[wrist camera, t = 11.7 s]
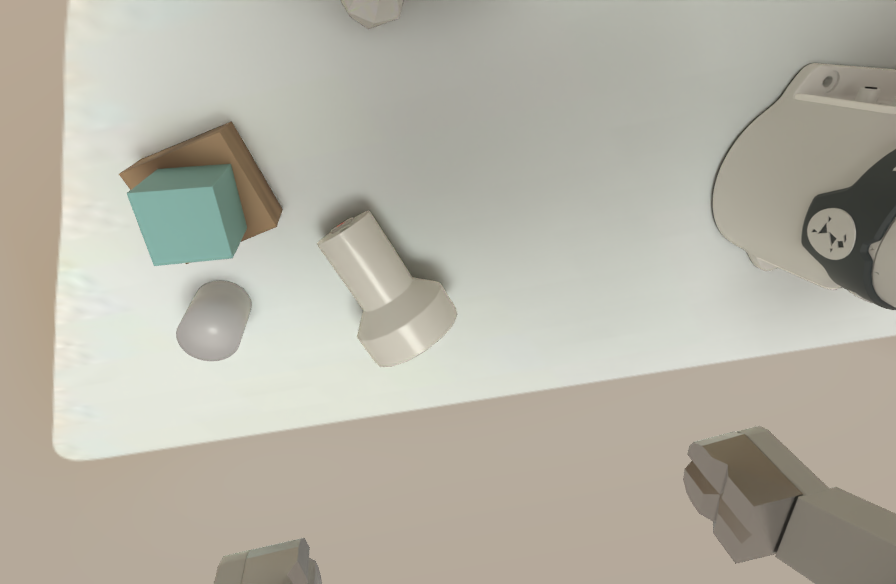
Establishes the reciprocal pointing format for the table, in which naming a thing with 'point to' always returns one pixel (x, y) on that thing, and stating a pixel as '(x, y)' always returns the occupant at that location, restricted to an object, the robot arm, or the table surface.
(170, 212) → the teal cube
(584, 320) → the table surface
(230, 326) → the grey cylinder
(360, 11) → the toy
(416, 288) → the spotlight
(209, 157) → the brown square block
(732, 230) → the robot arm
